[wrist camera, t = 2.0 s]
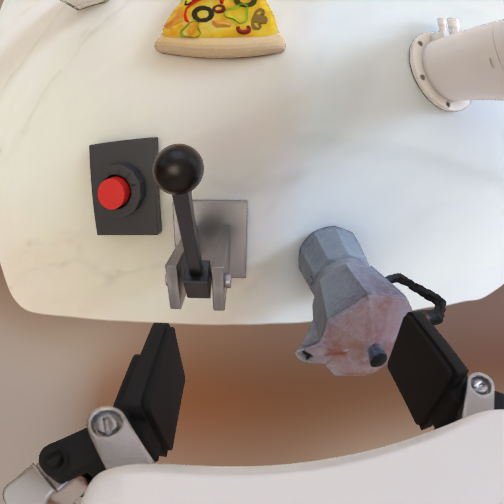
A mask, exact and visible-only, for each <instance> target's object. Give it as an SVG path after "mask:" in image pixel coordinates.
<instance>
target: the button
mask: <svg viewBox="0 0 504 504" xmlns="http://www.w3.org/2000/svg"><path fill="white" fill-rule="evenodd" d="M129 195H130V188H129V185H128V183H127V182H126V180H124V179H123V178H121V177H117V176H116V177H112V178H109V179H106V180H104V181H103V182H102V183H101V184H100V186H99V188H98V199H99V201H100V203H101V204H102V206H104V207H105V208H107V209H110V210H113V209H117V208H118V207H120V206H122V205H123V204H125V203H126V202H127V200H128V198H129Z"/></svg>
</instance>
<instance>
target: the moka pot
mask: <svg viewBox="0 0 504 504" xmlns="http://www.w3.org/2000/svg"><path fill="white" fill-rule="evenodd" d="M299 269H300V271H301V273H302V275H303V276H304V278H305V280H306V282H307V283H308V285H309V287H310V289H311V291H312V292H313V294H314V301H313V321H312V324H311V326H310V328H309V331H308V333H307V335H306V338H305V340H304V342H303V344H302V346H301V347H300V348H299V349H297V350H295V353H296V356H297V357H298V358H299V359H300V360H301V361H305V362H309V363H318V364H325V365H326V366H327V367H328V369H329V370H330V371H331V372H332V373H333V374H334V375H338V376H353V375H356V376H357V375H358V376H359V375H360V376H362V375H370V374H372V373H374V372H376V371H377V370H379V369H381V368H382V367H384V366H386V365H387V364H388V359H389V357H390V354H391V352H392V349H393V346H394V343H395V341H396V338H397V335H398V332H399V329H400V326H401V323H402V320H403V317H404V316H406V314H407V313H408V312H411V311H412V308H411V306H410V304H409V301H408V300H407V298H406V296H405V295H404V294H403V293H402V292H401V291H400V290H398V289H397V288H396V287H395V286H394V285H393V284H392V283H395V282H398V283H400V284H403V285H405V286H408V288H409V289H411V290H412V291H414V292H416V293H418V294H419V295H420V296H421V297H424V298H425V299H426V300H428V301H431V302H432V303H434V304H435V308H434V309H433V310H419V311H421V312H422V313H423V314H424V315H425V316H426V317H427V318H428V320H429V321H430V322H431V323H432V324H433V325H437V324H440V323H442V321H443V317H444V312H445V310H446V309H445V306H446V301H445V300H444V299H443V298H441V296H439V295H438V294H435V293H434V292H433V291H431V290H429V289H426V288H425V287H423V286H421V285H419V284H417V283H414V282H413V281H412V280H410V279H408V278H407V277H405V276H404V275H402V274H401V273H397V274H393V275H388V276H387V277H384V276H383V275H381V274H380V273H379V272H378V271H377V270H376V269H375V268H373V267H372V266H369V264H368V262H367V260H366V258H365V256H364V253H363V251H362V249H361V247H360V245H359V243H358V241H357V240H356V238H355V236H354V235H353V234H352V233H351V232H349V231H347V230H344V229H342V228H339V227H336V226H332V227H327V228H324V229H320V230H317V231H315V232H314V233H313V234H311V235H310V236H309V237H308V238H307V239H306V240H305V242H304V243H303V244H302V246H301V248H300V252H299Z"/></svg>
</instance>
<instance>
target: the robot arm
mask: <svg viewBox="0 0 504 504" xmlns="http://www.w3.org/2000/svg"><path fill="white" fill-rule="evenodd" d="M437 21H438V26H439V31H438V33H435V32H427V33H423V34H421V35H419V36H418V37H416V38H415V39H414V41H413V42H412V45H411V47H410V64H411V68H412V72H413V74H414V77H415V79H416V81H417V83H418V85H419V87H420V88H421V90H422V91H423V93H424V94H425V95H426V96H427V98H428V99H429V100H430V101H432V102H433V103H434V104H435V105H437V106H438V107H440V108H442V109H444V110H447V111H461V110H463V109H465V108H466V107H467V106H468V105H469V104H470V102H471V100H504V19H503V20H499V21H495V22H491V23H487V24H484V25H480V26H476V27H473V28H470V29H466V30H463V31H460V26H459V21H458V20H457V19H455V18H448V19H447V21H448V27H449V30H450V33H449V32H447V25H446V20H445V19H442V18H438V19H437ZM387 365H388V369H389V371H390V373H391V375H392V377H393V379H394V381H395V382H396V385H397V386H398V389H399V390H400V392H401V394H402V396H403V398H404V400H405V402H406V404H407V406H408V408H409V410H410V413H411V415H412V417H413V419H414V421H415V423H416V424H417V425H419V426H420V428H421V430H423V429H426V428H429V427H431V426H432V425H434V427H435V428H434V430H433V431H430V432H427V433H425V434H422V435H419V436H416V437H413V438H410V439H408V440H404V441H401V442H398V443H395V444H391V445H388V446H384V447H381V448H377V449H373V450H369V451H365V452H360V453H356V454H352V455H346V456H341V457H336V458H330V459H325V460H318V461H310V462H303V463H294V464H283V465H269V466H245V467H244V466H242V467H240V466H238V467H237V466H236V467H235V466H234V467H223V466H220V467H219V466H195V465H194V466H193V465H177V464H156V463H155V462H156V461H158V459H159V456H164V457H166V456H167V452H168V450H172V448H173V443H174V438H175V432H176V426H177V420H178V415H179V410H180V404H181V399H182V394H183V388H184V384H185V375H184V370H183V366H182V361H181V357H180V353H179V348H178V343H177V339H176V334H175V329H174V328H173V327H170V325H169V324H168V323H154V324H153V326H152V328H151V330H150V333H149V335H148V337H147V340H146V342H145V345H144V347H143V350H142V352H141V355H138V354H136V355H134V356H133V358H132V360H131V363H130V365H129V368H128V370H127V372H126V375H125V378H124V380H123V382H122V385H121V387H120V390H119V392H118V395H117V398H116V400H115V403H114V406H113V407H112V406H104V407H100V408H98V409H96V410H94V411H93V412H92V413H91V414H90V415H89V417H88V419H87V424H86V425H87V428H85V429H83V430H81V431H79V432H76V433H74V434H72V435H70V436H68V437H66V438H63V439H61V440H58V441H56V442H54V443H51V444H49V445H47V446H46V447H44V448H43V450H42V451H41V453H40V455H39V463H38V464H37V465H35V464H34V463H33V464H32V465H30V467H28V468H27V469H26V470H24V471H23V472H22V473H21V474H20V475H19V476H17V477H16V478H15V479H14V480H12V481H11V482H10V483H9V484H7V485H6V487H5V488H4V490H3V499H4V502H5V504H75V503H74V502H75V501H76V500H77V499H78V498H79V497H83V498H82V501H81V504H504V394H502V393H499V392H496V391H495V390H494V383H493V381H492V380H491V379H490V377H488V376H487V375H485V374H483V373H478V372H477V373H473V374H471V375H470V376H469V377H468V376H467V373H468V371H469V370H468V369H467V368H466V366H465V365H464V364H463V362H462V361H461V360H460V358H459V357H458V356H457V354H456V353H455V352H454V351H453V349H452V348H451V347H450V345H449V344H448V343H447V342H446V340H445V339H444V338H443V337H442V335H441V334H440V333H439V332H438V330H437V329H436V328H435V327H434V326H433V324H432V323H431V322H430V321H429V320H428V318H427V317H426V316H425V315H424V314H423V313H422V312H421V311H419V310H418V311H411V312H408V313H407V314H406V316H404V317H403V320H402V323H401V326H400V329H399V332H398V335H397V338H396V341H395V343H394V346H393V349H392V352H391V354H390V357H389V359H388V364H387Z"/></svg>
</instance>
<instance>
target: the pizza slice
mask: <svg viewBox="0 0 504 504" xmlns="http://www.w3.org/2000/svg"><path fill="white" fill-rule="evenodd" d="M154 47H155V49H156V50H157V51H159V52H162V53H168V54H175V55H182V56H191V57H205V58H236V57H249V56H259V55H268V54H274V53H279V52H282V51H284V49H285V47H286V44H285V41H284V39H283V38H282V36H281V35H280V33H279V31H278V28H277V25H276V22H275V18H274V15H273V13H272V11H271V9H270V8H269V6H268V4H267V2H266V0H182V2H181V3H180V4H179V6H178V7H177V8H176V9H175V10H174V11H173V13H172V14H171V16H170V17H169V19H168V21H167V22H166V24H165V25H164V28H163V33H162V34H161V36H160V37H159V38H158V39H157V41H156V42H155V45H154Z"/></svg>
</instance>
